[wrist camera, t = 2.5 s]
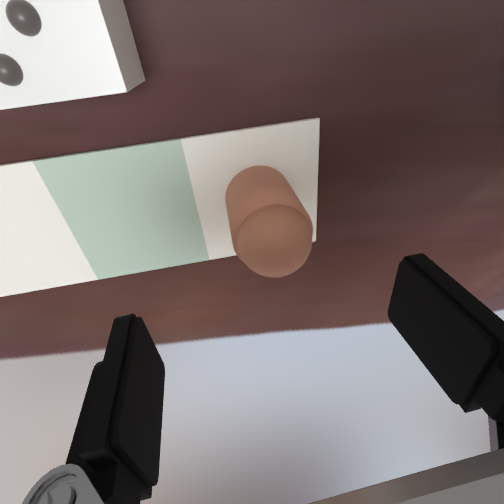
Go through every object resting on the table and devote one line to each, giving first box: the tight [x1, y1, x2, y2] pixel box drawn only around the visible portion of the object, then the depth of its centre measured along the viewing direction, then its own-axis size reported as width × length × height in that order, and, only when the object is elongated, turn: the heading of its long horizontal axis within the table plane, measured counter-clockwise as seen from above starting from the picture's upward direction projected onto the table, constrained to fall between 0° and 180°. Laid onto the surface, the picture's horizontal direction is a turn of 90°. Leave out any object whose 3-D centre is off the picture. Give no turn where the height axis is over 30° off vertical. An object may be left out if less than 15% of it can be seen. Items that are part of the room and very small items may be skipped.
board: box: [0, 118, 320, 297], centre depth 17 cm, size 30×8×1 cm, turn 96°
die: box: [0, 0, 145, 110], centre depth 10 cm, size 4×4×5 cm
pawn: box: [225, 166, 313, 277], centre depth 15 cm, size 4×4×6 cm
